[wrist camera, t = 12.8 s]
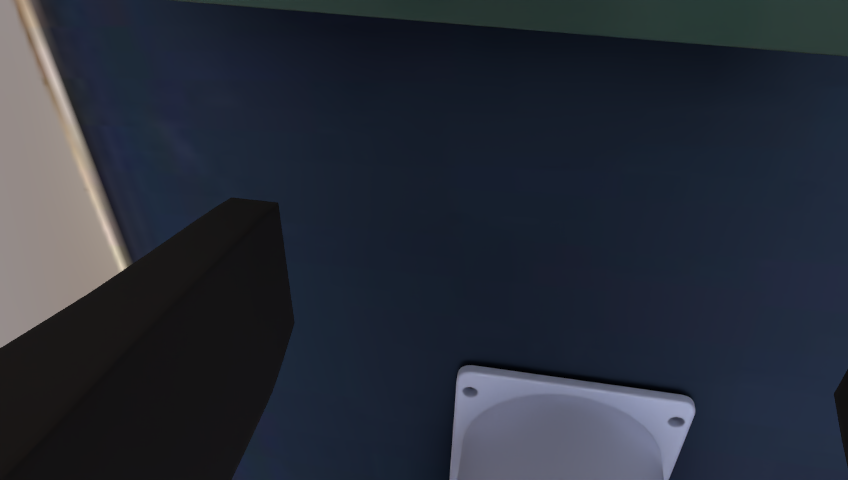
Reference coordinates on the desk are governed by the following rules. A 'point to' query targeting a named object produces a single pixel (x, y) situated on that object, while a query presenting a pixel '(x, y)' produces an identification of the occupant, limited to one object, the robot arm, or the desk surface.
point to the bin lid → (620, 18)
